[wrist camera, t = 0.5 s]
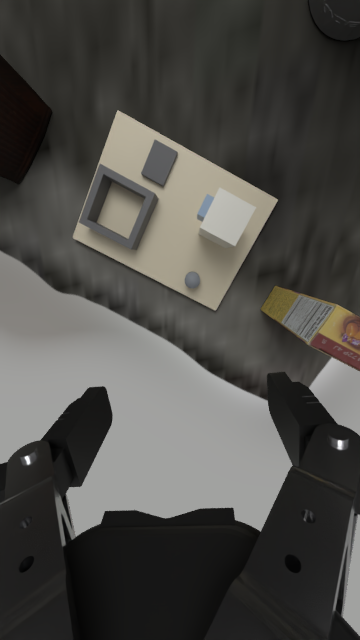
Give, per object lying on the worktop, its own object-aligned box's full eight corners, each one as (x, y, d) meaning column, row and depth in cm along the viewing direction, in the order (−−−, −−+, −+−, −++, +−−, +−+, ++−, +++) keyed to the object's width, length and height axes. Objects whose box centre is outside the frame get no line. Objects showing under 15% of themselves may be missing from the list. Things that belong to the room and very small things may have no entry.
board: (120, 114, 29) (109, 93, 26) (275, 201, 31) (287, 193, 27) (75, 238, 34) (60, 236, 30) (215, 309, 35) (217, 316, 31)
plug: (207, 201, 31) (212, 183, 23) (240, 219, 31) (256, 207, 23) (192, 231, 32) (192, 223, 24) (225, 248, 32) (235, 246, 24)
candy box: (329, 311, 34) (430, 354, 20) (310, 337, 35) (393, 395, 21) (275, 282, 34) (338, 303, 19) (258, 308, 35) (306, 348, 20)
